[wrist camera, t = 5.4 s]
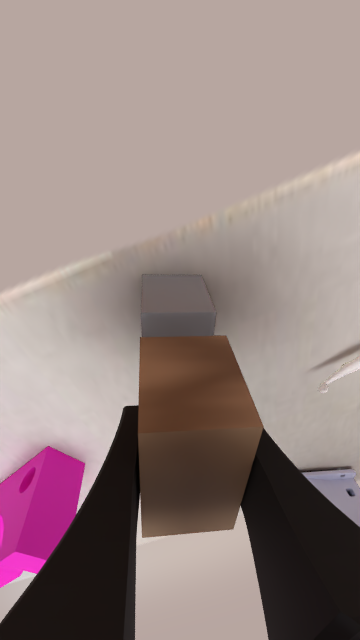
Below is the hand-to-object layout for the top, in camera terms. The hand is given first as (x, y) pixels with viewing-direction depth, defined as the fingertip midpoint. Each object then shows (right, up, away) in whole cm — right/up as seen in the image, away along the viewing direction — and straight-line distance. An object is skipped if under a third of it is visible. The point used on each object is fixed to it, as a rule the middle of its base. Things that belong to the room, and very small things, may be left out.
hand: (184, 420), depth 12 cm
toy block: (-15, -12, +16) cm, 25 cm away
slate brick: (-1, +4, +7) cm, 8 cm away
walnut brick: (0, +1, +1) cm, 2 cm away
